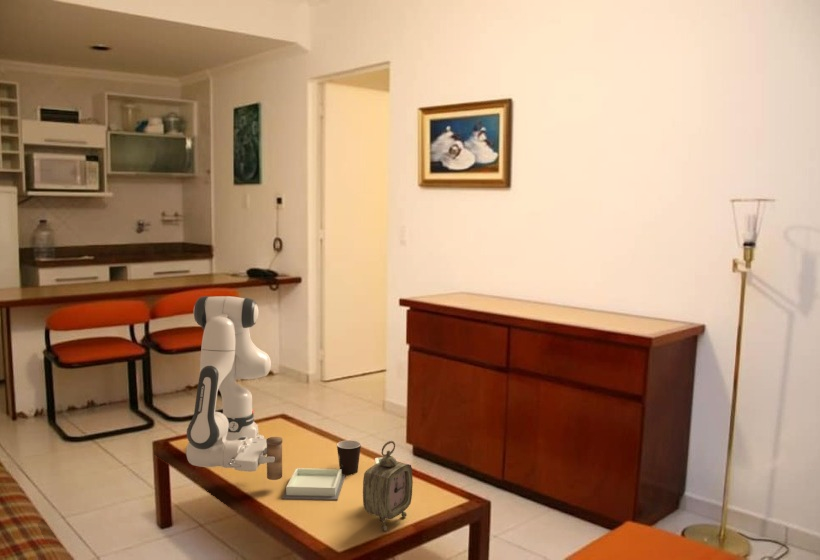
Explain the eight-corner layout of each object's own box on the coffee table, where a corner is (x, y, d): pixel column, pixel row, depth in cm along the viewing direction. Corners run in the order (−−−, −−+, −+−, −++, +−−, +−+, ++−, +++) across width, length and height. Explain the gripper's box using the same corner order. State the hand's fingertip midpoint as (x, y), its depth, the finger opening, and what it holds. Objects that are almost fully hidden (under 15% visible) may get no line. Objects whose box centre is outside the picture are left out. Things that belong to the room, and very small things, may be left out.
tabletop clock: (385, 535, 195) (386, 451, 192) (360, 527, 200) (360, 445, 197) (412, 516, 207) (413, 437, 204) (387, 509, 212) (388, 432, 209)
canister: (268, 473, 228) (268, 436, 226) (284, 474, 228) (283, 436, 226) (265, 479, 223) (264, 442, 221) (280, 480, 223) (280, 442, 221)
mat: (294, 474, 238) (294, 473, 238) (345, 476, 238) (345, 474, 238) (281, 499, 218) (281, 497, 218) (337, 500, 218) (337, 498, 218)
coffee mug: (357, 476, 237) (357, 449, 236) (333, 474, 239) (333, 447, 238) (365, 464, 248) (365, 438, 247) (343, 462, 250) (343, 436, 249)
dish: (296, 475, 236) (296, 468, 236) (341, 476, 236) (341, 469, 235) (286, 495, 220) (286, 486, 220) (335, 496, 220) (335, 487, 219)
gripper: (226, 457, 214) (269, 458, 214) (244, 434, 234) (283, 435, 234) (226, 476, 215) (269, 477, 214) (244, 452, 235) (283, 453, 235)
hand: (277, 455), depth 224 cm, fingers closed on canister, 5 cm apart
